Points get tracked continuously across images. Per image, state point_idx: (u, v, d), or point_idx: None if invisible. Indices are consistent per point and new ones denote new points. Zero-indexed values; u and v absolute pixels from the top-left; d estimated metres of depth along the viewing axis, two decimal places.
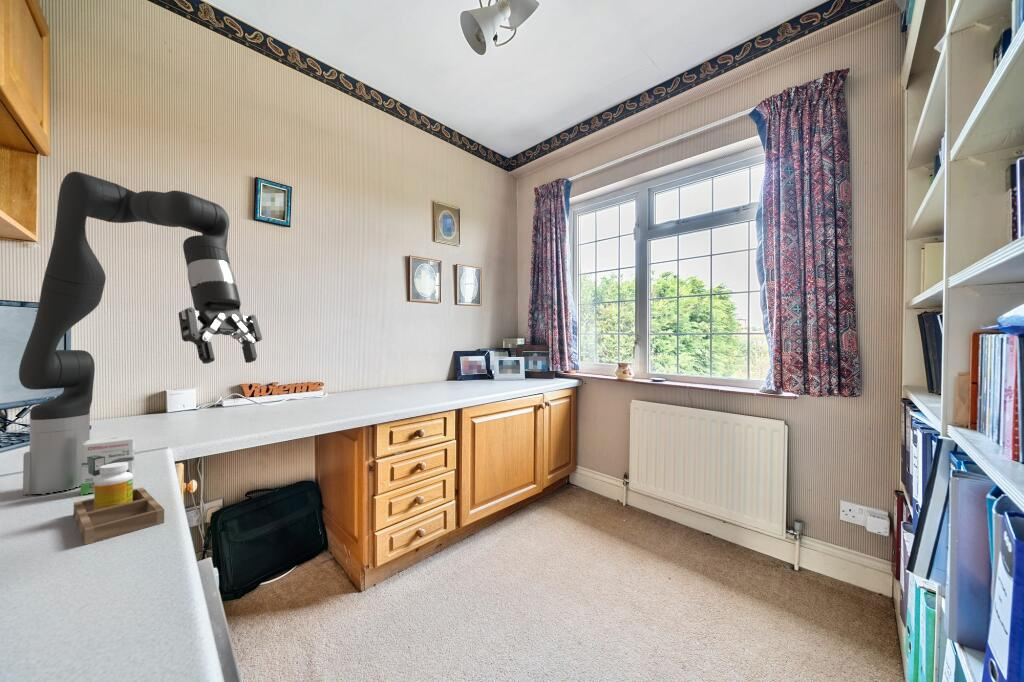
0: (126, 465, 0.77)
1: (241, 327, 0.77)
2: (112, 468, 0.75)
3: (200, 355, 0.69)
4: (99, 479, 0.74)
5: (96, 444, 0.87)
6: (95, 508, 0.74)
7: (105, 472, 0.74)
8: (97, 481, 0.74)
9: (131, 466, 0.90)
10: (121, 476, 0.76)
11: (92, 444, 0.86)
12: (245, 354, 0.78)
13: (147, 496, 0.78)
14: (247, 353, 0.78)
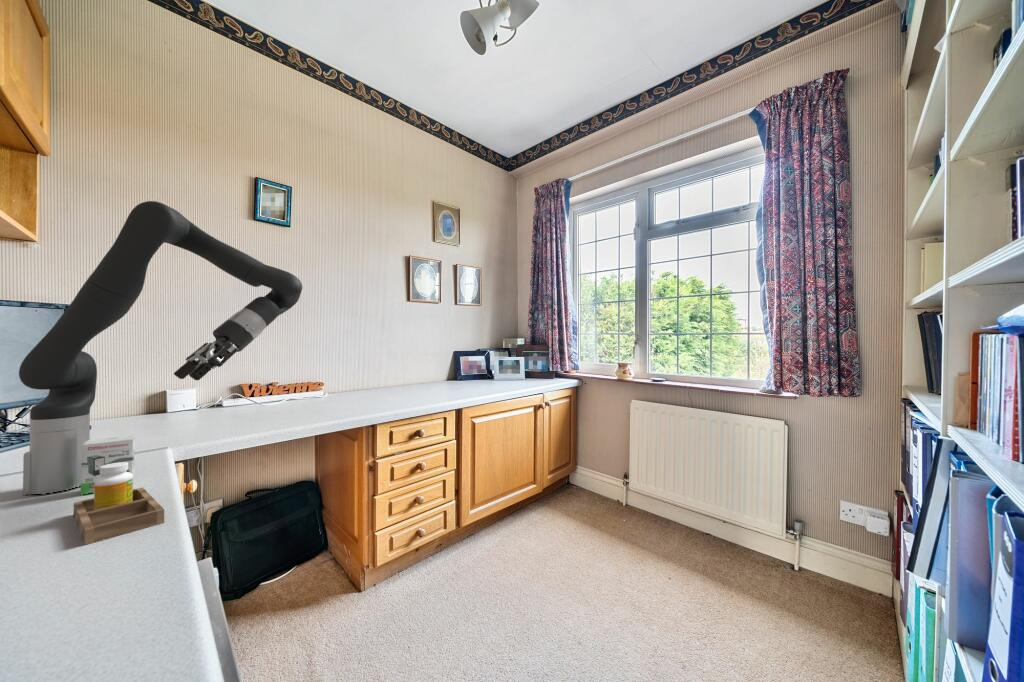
0: (126, 465, 0.77)
1: None
2: (112, 468, 0.75)
3: (199, 372, 0.84)
4: (99, 479, 0.74)
5: (96, 444, 0.87)
6: (95, 508, 0.74)
7: (105, 472, 0.74)
8: (97, 481, 0.74)
9: (131, 466, 0.90)
10: (121, 476, 0.76)
11: (92, 444, 0.86)
12: (182, 369, 0.89)
13: (147, 496, 0.78)
14: (185, 370, 0.89)
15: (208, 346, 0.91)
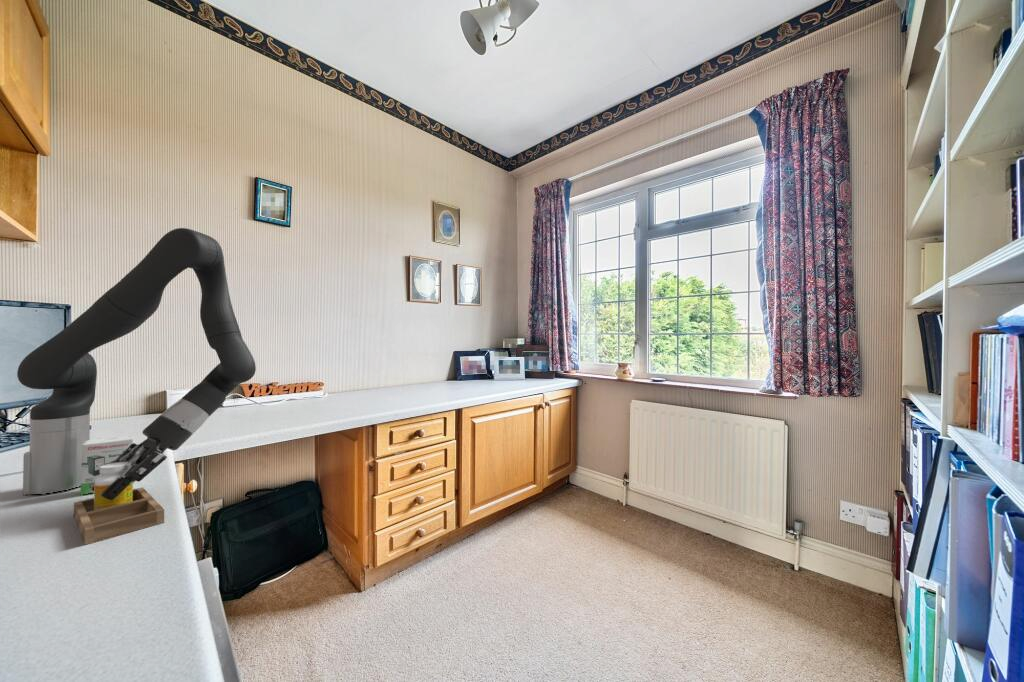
0: (126, 465, 0.77)
1: None
2: (112, 468, 0.75)
3: (113, 490, 0.73)
4: (99, 479, 0.74)
5: (96, 444, 0.87)
6: (95, 508, 0.74)
7: (105, 472, 0.74)
8: (97, 481, 0.74)
9: None
10: None
11: (92, 444, 0.86)
12: None
13: (147, 496, 0.78)
14: None
15: (136, 449, 0.80)
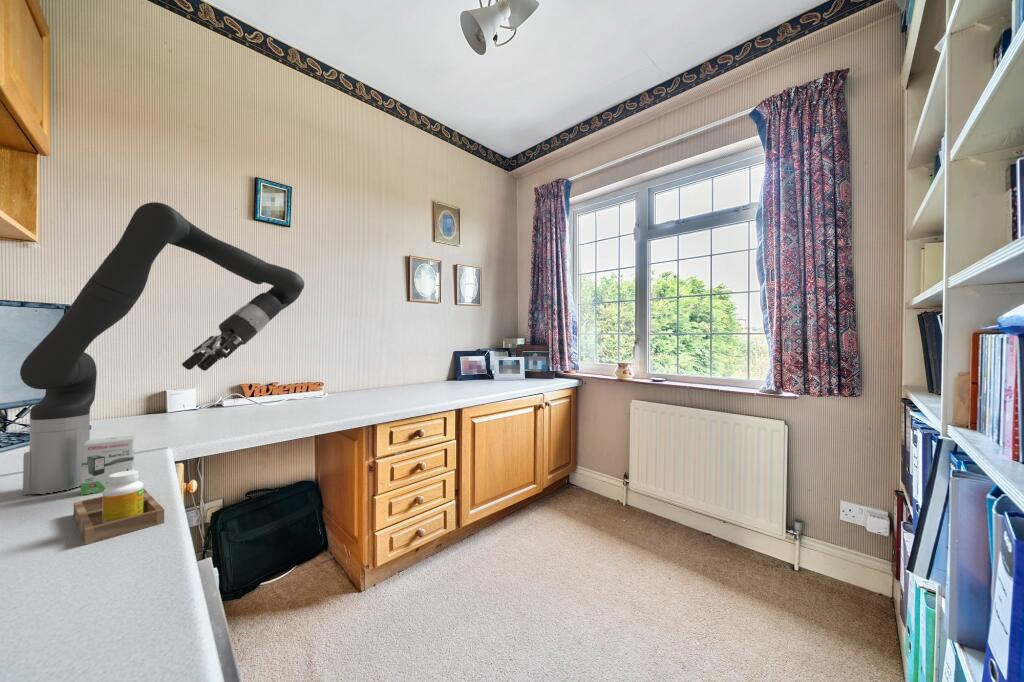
0: (136, 474, 0.71)
1: None
2: (122, 477, 0.69)
3: (206, 362, 0.89)
4: (108, 489, 0.69)
5: (96, 444, 0.87)
6: (103, 520, 0.68)
7: (114, 482, 0.69)
8: (106, 491, 0.68)
9: (131, 466, 0.90)
10: (132, 486, 0.70)
11: (92, 444, 0.86)
12: (190, 360, 0.94)
13: (147, 496, 0.78)
14: (192, 362, 0.94)
15: (214, 339, 0.96)
